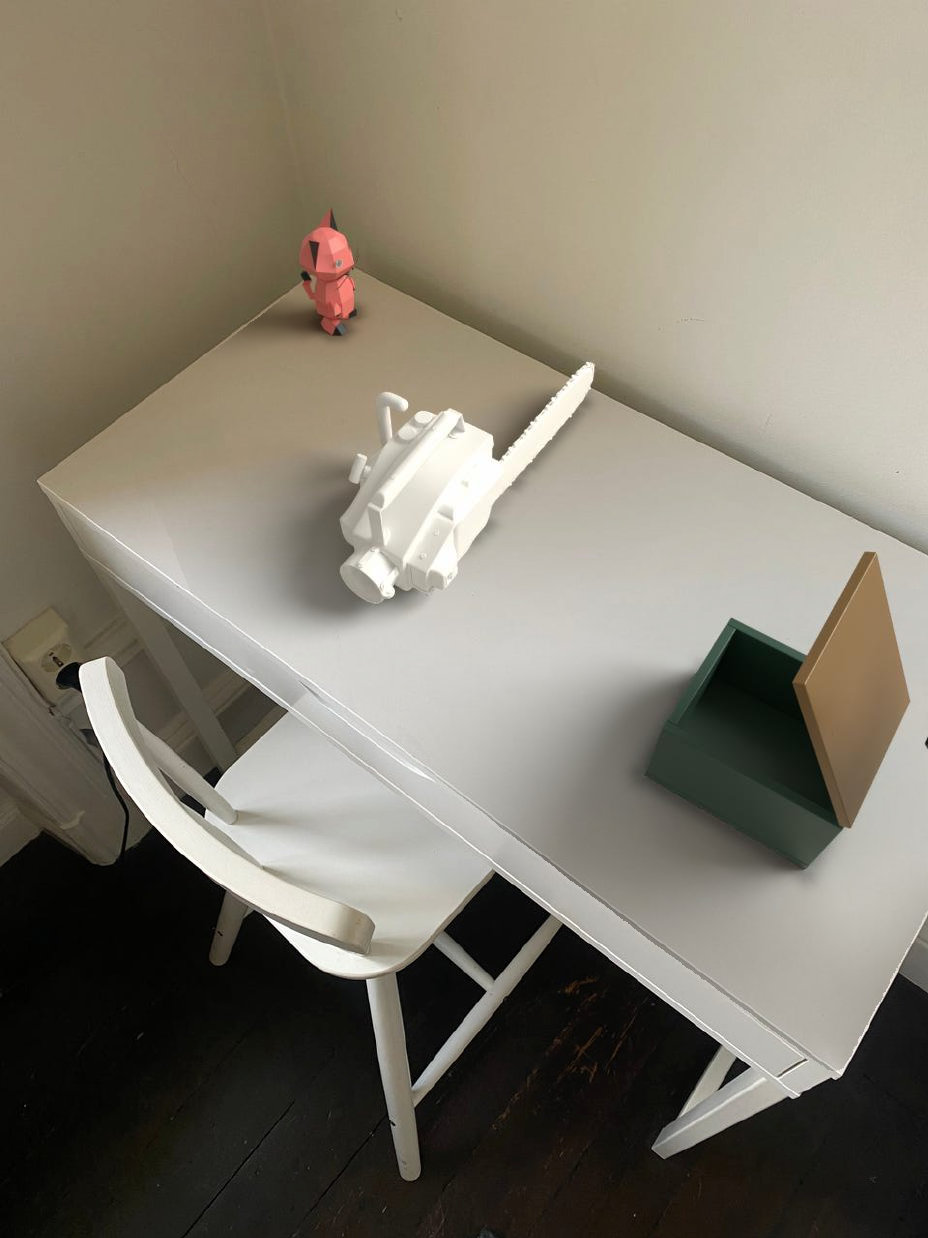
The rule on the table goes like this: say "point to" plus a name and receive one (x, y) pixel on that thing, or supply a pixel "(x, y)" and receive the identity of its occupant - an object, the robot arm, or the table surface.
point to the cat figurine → (329, 274)
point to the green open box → (748, 747)
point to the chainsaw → (434, 492)
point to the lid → (853, 689)
